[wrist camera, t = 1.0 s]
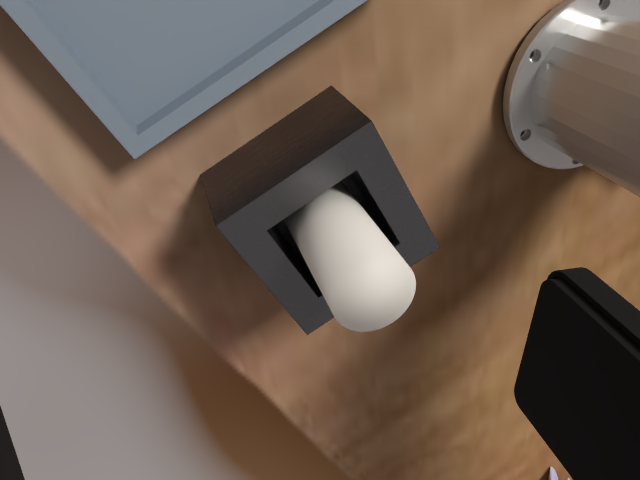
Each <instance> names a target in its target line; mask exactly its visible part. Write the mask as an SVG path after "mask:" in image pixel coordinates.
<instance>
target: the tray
mask: <svg viewBox="0 0 640 480" xmlns="http://www.w3.org/2000/svg"><path fill="white" fill-rule="evenodd" d="M365 1H367V0H0V5H1V6H2V8H3V9H4V10H5V11H6V12H7V13H8V14H9V16H10V17H11V18H12V19H13V20H14V21H15V23H16V24H17V25H18V26H19V27H20V28H21V29H22V31H23V32H24V33H25V34H26V35H27V36H28V37H29V39H30V40H31V41H32V42H33V43H34V44H35V46H36V47H37V48H38V49H39V50H40V51H41V52H42V54H43V55H44V56H45V57H46V58H47V59H48V60H49V62H50V63H51V64H52V65H53V66H54V67H55V69H56V70H57V71H58V72H59V73H60V74H61V75H62V77H63V78H64V79H65V80H66V81H67V82H68V84H69V85H70V86H71V87H72V88H73V89H74V90H75V92H76V93H77V94H78V95H79V96H80V97H81V98H82V100H83V101H84V102H85V103H86V104H87V105H88V107H89V108H90V109H91V110H92V111H93V112H94V113H95V115H96V116H97V117H98V118H99V119H100V120H101V121H102V123H103V124H104V125H105V126H106V127H107V128H108V130H109V131H110V132H111V133H112V134H113V135H114V136H115V138H116V139H117V140H118V141H119V142H120V143H121V144H122V146H123V147H124V148H125V149H126V150H127V151H128V153H129V154H130V155H131V156H132V157H133V158H134V159H136V158H138V157H139V156H141V155H142V154H143V153H145V152H146V151H148V150H149V149H151V148H152V147H154V146H155V145H157V144H158V143H160V142H161V141H162V140H164V139H165V138H167V137H168V136H170V135H171V134H173V133H174V132H176V131H177V130H178V129H180V128H181V127H183V126H184V125H186V124H187V123H189V122H190V121H192V120H193V119H195V118H196V117H197V116H199V115H200V114H202V113H203V112H205V111H206V110H208V109H209V108H211V107H212V106H214V105H215V104H216V103H218V102H219V101H221V100H222V99H224V98H225V97H227V96H228V95H230V94H231V93H233V92H234V91H235V90H237V89H238V88H240V87H241V86H243V85H244V84H246V83H247V82H249V81H250V80H252V79H253V78H254V77H256V76H257V75H259V74H260V73H262V72H263V71H265V70H266V69H268V68H269V67H271V66H272V65H273V64H275V63H276V62H278V61H279V60H281V59H282V58H284V57H285V56H287V55H288V54H290V53H291V52H292V51H294V50H295V49H297V48H298V47H300V46H301V45H303V44H304V43H306V42H307V41H309V40H310V39H311V38H313V37H314V36H316V35H317V34H319V33H320V32H322V31H323V30H325V29H326V28H327V27H329V26H330V25H332V24H333V23H335V22H336V21H338V20H339V19H341V18H342V17H344V16H345V15H346V14H348V13H349V12H351V11H352V10H354V9H355V8H357V7H358V6H360V5H361V4H363V3H364V2H365Z"/></svg>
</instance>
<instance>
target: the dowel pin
mask: <svg viewBox="0 0 640 480" xmlns="http://www.w3.org/2000/svg"><path fill="white" fill-rule="evenodd" d="M284 221H285V223H286V225H287V227H288V229H289V231H290V233H291V235H292V237H293V239H294V241H295V242H296V244H297V246H298V248H299V250H300V252H301V254H302V256H303V258H304V260H305V262H306V264H307V266H308V267H309V269H310V271H311V273H312V275H313V277H314V279H315V281H316V283H317V285H318V287H319V289H320V291H321V292H322V294H323V296H324V298H325V300H326V302H327V304H328V306H329V308H330V310H331V312H332V314H333V316H334V317H335V319H336V320H337V322H338V323H339V324H340V325H342V326H343V327H345V328H347V329H349V330H352V331H356V332H369V331H374V330H378V329H381V328H383V327H386V326H388V325H389V324H391V323H393V322H394V321H396V320H397V319H398V318H399V317H400V316H401V315H402V314H403V313H404V312H405V311H406V310H407V308H408V307H409V305H410V304H411V302H412V300H413V298H414V294H415V290H416V279H415V276H414V273H413V271H412V269H411V268H410V267H409V265H408V264H407V263H406V262H405V260H404V259H403V258H402V257H401V255H400V254H399V253H398V252H397V250H396V249H395V248H394V246H393V245H392V244H391V243H390V241H389V240H388V239H387V238H386V236H385V235H384V234H383V233H382V231H381V230H380V229H379V228H378V226H377V225H376V224H375V223H374V221H373V220H372V219H371V218H370V216H369V215H368V214H367V213H366V211H365V210H364V209H363V207H362V206H361V205H360V204H359V202H358V201H357V200H356V199H355V197H354V196H353V195H352V194H351V192H350V191H349V190H348V189H347V187H346V186H345V185H344V184H343V182H342V181H340V182H338V183H337V184H335V185H334V186H332V187H331V188H329V189H328V190H326V191H325V192H323V193H322V194H320V195H319V196H317V197H316V198H314V199H313V200H312V201H310V202H309V203H307V204H306V205H304V206H303V207H301V208H300V209H298V210H297V211H295V212H294V213H292V214H291V215H289V216H288V217H286V218H285V219H284Z"/></svg>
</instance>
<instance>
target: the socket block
mask: <svg viewBox="0 0 640 480" xmlns="http://www.w3.org/2000/svg"><path fill="white" fill-rule="evenodd" d="M201 178H202V182H203V185H204V188H205V192H206V195H207V198H208V201H209V205H210V208H211V211H212V215H213V218H214V221H215V224H216V227H217V228H218V229H219V230H220V231H221V233H222V234H223V235H224V236H225V237H226V239H227V240H228V241H229V242H230V243H231V245H232V246H233V247H234V248H235V249H236V251H237V252H238V253H239V254H240V255H241V256H242V258H243V259H244V260H245V261H246V262H247V264H248V265H249V266H250V267H251V268H252V270H253V271H254V272H255V273H256V274H257V276H258V277H259V278H260V279H261V280H262V282H263V283H264V284H265V285H266V286H267V288H268V289H269V290H270V291H271V292H272V294H273V295H274V296H275V297H276V298H277V300H278V301H279V302H280V303H281V304H282V306H283V307H284V308H285V309H286V310H287V311H288V313H289V314H290V315H291V316H292V317H293V319H294V320H295V321H296V322H297V323H298V325H299V326H300V327H301V328H302V329H303V331H304V332H305V333H306V334H307V335H308V334H310V333H311V332H313V331H314V330H316V329H317V328H319V327H320V326H322V325H323V324H325V323H326V322H328V321H329V320H331V319H332V318H334V316H333V314H332V312H331V310H330V308H329V306H328V304H327V302H326V300H325V298H324V296H323V294H322V292H321V291H320V289H319V287H318V285H317V283H316V281H315V279H314V277H313V275H312V273H311V271H310V269H309V267H308V266H307V264H306V262H305V260H304V258H303V256H302V254H301V252H300V250H299V248H298V246H297V244H296V242H295V241H294V239H293V237H292V235H291V233H290V231H289V229H288V227H287V225H286V223H285V221H284V219H285V218H286V217H288V216H289V215H291V214H292V213H294V212H295V211H297V210H298V209H300V208H301V207H303V206H304V205H306V204H307V203H309V202H310V201H312V200H313V199H314V198H316V197H317V196H319V195H320V194H322V193H323V192H325V191H326V190H328V189H329V188H331V187H332V186H334V185H335V184H337V183H338V182H340V181H342V182H343V184H344V185H345V186H346V187H347V189H348V190H349V191H350V192H351V194H352V195H353V196H354V197H355V199H356V200H357V201H358V202H359V204H360V205H361V206H362V207H363V209H364V210H365V211H366V213H367V214H368V215H369V216H370V218H371V219H372V220H373V221H374V223H375V224H376V225H377V226H378V228H379V229H380V230H381V231H382V233H383V234H384V235H385V236H386V238H387V239H388V240H389V241H390V243H391V244H392V245H393V246H394V248H395V249H396V250H397V252H398V253H399V254H400V255H401V257H402V258H403V259H404V260H405V262H406V263H407V264H408V265H409V267H411V266H412V265H414V264H415V263H417V262H418V261H420V260H421V259H423V258H424V257H426V256H427V255H429V254H430V253H432V252H433V251H435V250H436V249H438V248H439V247H440V246H439V245H438V243H437V241H436V239H435V237H434V235H433V233H432V232H431V230H430V228H429V226H428V224H427V222H426V221H425V219H424V217H423V215H422V213H421V211H420V209H419V208H418V206H417V204H416V202H415V200H414V198H413V196H412V195H411V193H410V191H409V189H408V187H407V185H406V184H405V182H404V180H403V178H402V176H401V174H400V172H399V171H398V169H397V167H396V165H395V163H394V161H393V159H392V158H391V156H390V154H389V152H388V150H387V148H386V147H385V145H384V143H383V141H382V139H381V137H380V135H379V134H378V132H377V130H376V128H375V126H374V124H373V122H372V121H371V120H370V119H369V118H368V117H367V116H366V115H364V114H363V113H362V112H361V111H360V110H359V109H358V108H356V107H355V106H354V105H353V104H352V103H351V102H350V101H348V100H347V99H346V98H345V97H344V96H343V95H342V94H340V93H339V92H338V91H337V90H336V89H335V88H334V87H332V86H330V87H329V88H327V89H326V90H324V91H323V92H321V93H320V94H318V95H317V96H315V97H314V98H312V99H311V100H310V101H308V102H307V103H305V104H304V105H302V106H301V107H299V108H298V109H296V110H295V111H293V112H292V113H290V114H289V115H287V116H286V117H285V118H283V119H282V120H280V121H279V122H277V123H276V124H274V125H273V126H271V127H270V128H268V129H267V130H265V131H264V132H262V133H261V134H260V135H258V136H257V137H255V138H254V139H252V140H251V141H249V142H248V143H246V144H245V145H243V146H242V147H240V148H239V149H237V150H236V151H235V152H233V153H232V154H230V155H229V156H227V157H226V158H224V159H223V160H221V161H220V162H218V163H217V164H215V165H214V166H212V167H211V168H210V169H208V170H207V171H205V172H204V173H202V174H201Z"/></svg>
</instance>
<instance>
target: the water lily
mask: <svg viewBox="0 0 640 480" xmlns="http://www.w3.org/2000/svg"><path fill="white" fill-rule="evenodd" d="M549 480H558V477H557V474H556V472H555V470H554V468H552V467H550V473H549ZM568 480H570V478H568Z"/></svg>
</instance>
